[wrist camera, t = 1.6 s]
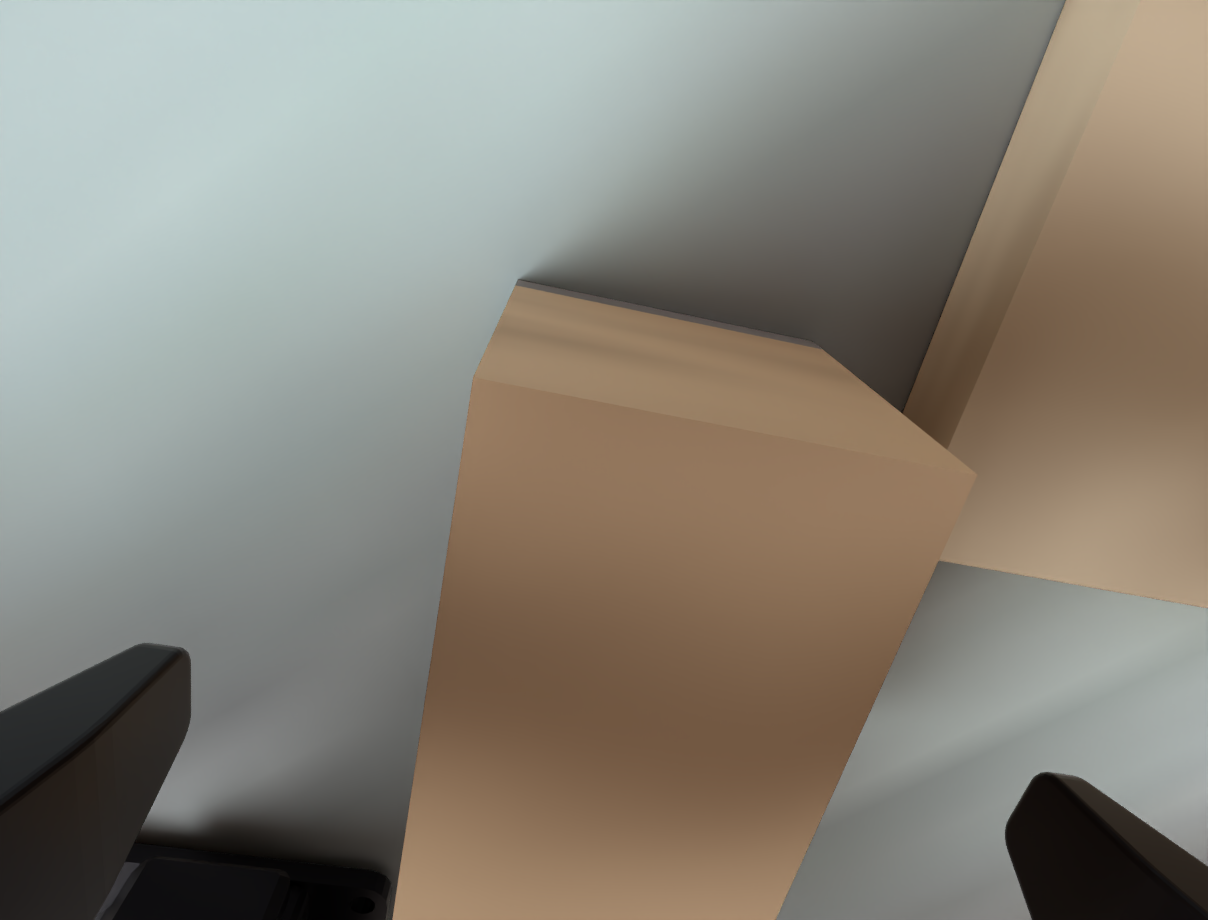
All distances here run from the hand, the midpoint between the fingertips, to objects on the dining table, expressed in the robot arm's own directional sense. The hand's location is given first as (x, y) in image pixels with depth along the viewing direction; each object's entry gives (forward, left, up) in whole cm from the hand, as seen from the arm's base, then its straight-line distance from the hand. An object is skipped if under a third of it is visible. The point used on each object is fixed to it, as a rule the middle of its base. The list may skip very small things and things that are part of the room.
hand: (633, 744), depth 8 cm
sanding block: (0, 0, -5) cm, 5 cm away
